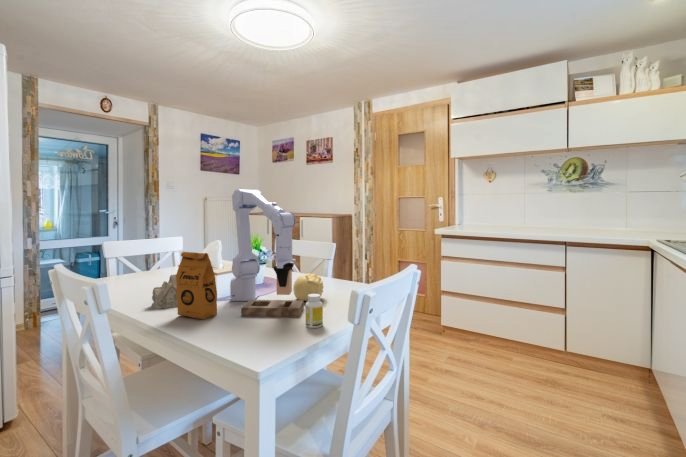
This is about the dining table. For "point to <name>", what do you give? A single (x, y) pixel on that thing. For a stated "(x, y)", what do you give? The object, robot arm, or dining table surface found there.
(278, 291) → the square peg
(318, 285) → the sculpture
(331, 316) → the dining table surface
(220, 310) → the dining table surface
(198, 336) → the dining table surface
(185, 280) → the coffee package
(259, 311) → the socket board
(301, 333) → the dining table surface
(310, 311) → the supplement bottle
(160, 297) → the ceramic cottage
